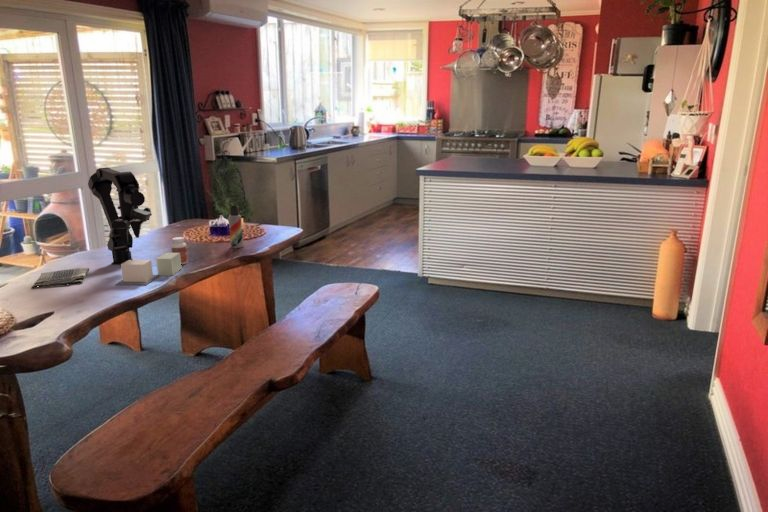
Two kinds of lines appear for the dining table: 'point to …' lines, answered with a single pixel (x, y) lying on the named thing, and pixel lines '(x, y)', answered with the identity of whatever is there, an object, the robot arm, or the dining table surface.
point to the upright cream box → (137, 270)
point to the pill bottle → (180, 248)
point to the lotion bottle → (235, 227)
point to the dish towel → (61, 277)
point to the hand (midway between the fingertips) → (132, 240)
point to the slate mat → (138, 282)
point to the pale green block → (169, 264)
